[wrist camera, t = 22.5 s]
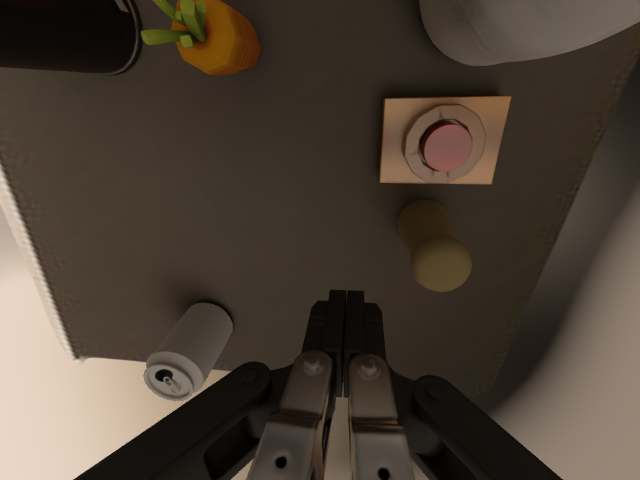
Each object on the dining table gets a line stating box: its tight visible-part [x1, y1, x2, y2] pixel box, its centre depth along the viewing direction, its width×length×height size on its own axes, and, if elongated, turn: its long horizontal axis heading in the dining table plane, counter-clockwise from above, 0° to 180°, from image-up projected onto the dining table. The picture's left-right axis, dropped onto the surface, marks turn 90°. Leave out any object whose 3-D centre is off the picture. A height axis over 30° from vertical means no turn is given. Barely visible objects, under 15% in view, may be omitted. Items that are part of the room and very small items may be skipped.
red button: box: [421, 122, 472, 171], centre depth 27 cm, size 4×4×2 cm
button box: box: [379, 95, 511, 184], centre depth 30 cm, size 8×11×4 cm
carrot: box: [141, 0, 261, 75], centre depth 24 cm, size 5×5×15 cm
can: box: [144, 303, 233, 401], centre depth 42 cm, size 8×8×12 cm
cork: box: [397, 200, 472, 292], centre depth 31 cm, size 6×6×11 cm
